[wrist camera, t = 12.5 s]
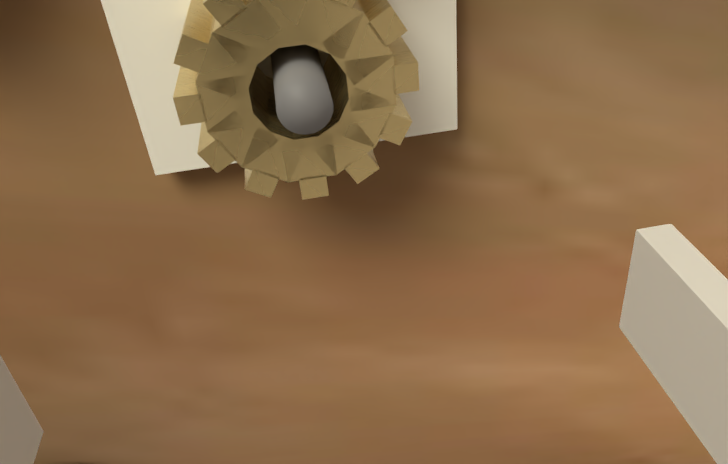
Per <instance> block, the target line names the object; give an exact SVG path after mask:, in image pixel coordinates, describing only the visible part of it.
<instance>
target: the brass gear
mask: <svg viewBox="0 0 728 464" xmlns="http://www.w3.org/2000/svg"><path fill="white" fill-rule="evenodd" d="M407 31H408V30H407V29H406V27H405V26H404V24H403V23H402V21H401V20H400V19H399V17H398V16H397V14H396V13H395V11H394V10H393V8H392V7H391V5H390V4H389V2H388V1H387V0H191V1H190V5H189V8H188V11H187V14H186V18H185V22H184V25H183V29H182V33H181V37H180V40H179V44H178V48H177V52H176V55H175V59H174V63H173V64H176V65H179V66H180V70H179V74H178V78H177V82H176V87H175V91H174V95H173V100H174V104H175V107H176V111H177V115H178V118H179V122H180V126H182V125H188V124H195V123H201V129H200V137H199V145H198V152H197V154H198V155H199V156H200V157H201V158H202V159H203V160H204V161H205V162H206V163H207V164H208V165H209V166H210V167H211V168H212V169H213V170H214V171H215V172H216V173H219V172H220V171H221V170H223V169H224V168H225V167H227V166H228V165H229V164H231V163H232V162H233V161H236V162H237V163H238V164H239V165H240V166H241V167H242V168H245V190H248V191H251V192H254V193H257V194H261V195H264V196H267V197H271V196H272V194H273V192H274V189H275V187H276V185H277V182H278V180H279V179H280V180H283V181H286V182H289V183H290V182H294V181H299V184H300V190H301V195H302V200H304V199H311V198H317V197H323V196H329V193H328V186H327V179H326V176H333V175H337V174H338V173H340V172H341V171H343V170H344V169H345V170H346V171H347V172H348V173H349V175H350V176H351V177H352V178H353V179H354V180H355V182H356V183H357V184H358V183H360V182H361V181H363V180H364V179H366V178H367V177H368V176H370V175H371V174H373V173H374V172H376V171H377V170H378V169H380V168H379V166H378V163H377V160H376V157H375V155H374V152H373V149H374V148H375V147H376V145H377V143H378V141H379V139H380V138H381V139H383V140H386V141H389V142H392V143H394V144H397V145H401V143H402V141H403V139H404V137H405V135H406V133H407V131H408V129H409V127H410V125H411V123H412V120H411V118H410V116H409V114H408V112H407V110H406V108H405V106H404V104H403V102H402V100H401V98H400V96H399V95H398V94H400V93H407V92H414V91H419V70H418V62H417V60H416V58H415V57H414V55H413V54H412V52H411V51H410V49H409V48H408V46H407V45H406V43H405V42H404V40H403V39H402V37H401V35H403V34H404V33H406V32H407ZM304 44H306V45H309V46H311V47H314V48H316V49H319V50H321V51H324V52H326V53H329V55H328V57H327V60H326V62H325V64H324V67H323V70H324V73H325V76H326V80H327V83H328V87H329V90H330V94H331V97H332V101H333V114H332V117H331V119H330V121H329V122H328V124H327V125H326V126H325V127H324V128H323V129H321V130H320V131H318V132H315V133H312V134H306V135H304V134H297V133H294V132H291V131H289V130H288V129H286V128H285V127H284V126H283V125H282V124H281V122H280V121H279V119H278V116H277V113H276V103H275V93H274V83H273V78H270V77H268V76H265V74H264V73H263V72H262V71H261V70H260V69H259V67H258V66H257V64H259V63H260V62H261V61H263V60H264V59H265V58H266V57H268V56H269V55H270V54H272V53H273V52H274V51H275V50H277V49H278V48H282V47H290V46H297V45H304Z"/></svg>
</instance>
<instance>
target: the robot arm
mask: <svg viewBox="0 0 728 464" xmlns="http://www.w3.org/2000/svg"><path fill="white" fill-rule="evenodd" d="M619 328H620V329H621V330H622V332H623V333H624V335H625V336H626V337H627V339H628V340H629V342H630V343H631V344H632V346H633V347H634V349H635V350H636V351H637V353H638V354H639V356H640V357H641V358H642V360H643V361H644V363H645V364H646V365H647V367H648V368H649V370H650V371H651V372H652V374H653V375H654V377H655V378H656V379H657V381H658V382H659V383H660V385H661V386H662V388H663V389H664V390H665V392H666V393H667V395H668V396H669V397H670V399H671V400H672V402H673V403H674V404H675V406H676V407H677V409H678V410H679V411H680V413H681V414H682V416H683V417H684V418H685V420H686V421H687V423H688V424H689V425H690V427H691V428H692V430H693V431H694V432H695V434H696V435H697V437H698V438H699V439H700V441H701V442H702V444H703V445H704V446H705V448H706V449H707V451H708V452H709V453H710V455H711V456H712V458H713V459H714V460H715V462H716V463H717V464H728V279H726V278H725V277H724V276H723V275H722V274H721V273H720V272H719V271H718V270H717V269H716V268H715V267H714V266H713V265H712V264H711V263H710V262H709V261H708V260H707V259H706V258H705V257H704V256H703V255H702V254H701V253H700V252H699V251H698V250H697V249H696V248H695V247H694V246H693V245H692V244H691V243H690V242H689V241H688V240H687V239H686V238H685V237H684V236H683V235H682V234H681V233H680V232H679V231H678V230H677V229H676V228H675V227H674V226H673V225H672V224H667V225H661V226H655V227H649V228H643V229H637V230H636V234H635V240H634V246H633V251H632V257H631V262H630V268H629V274H628V279H627V285H626V291H625V296H624V302H623V307H622V313H621V319H620V324H619ZM43 432H44V431H43V429H42V428H41V426H40V424H39V422H38V421H37V419H36V417H35V415H34V414H33V412H32V410H31V408H30V407H29V405H28V403H27V401H26V400H25V398H24V396H23V394H22V393H21V391H20V389H19V387H18V385H17V384H16V382H15V380H14V378H13V377H12V375H11V373H10V371H9V370H8V368H7V366H6V364H5V363H4V361H3V359H2V357H1V356H0V464H33V463H34V460H35V457H36V454H37V451H38V448H39V444H40V441H41V438H42V435H43Z"/></svg>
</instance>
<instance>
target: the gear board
mask: <svg viewBox="0 0 728 464" xmlns="http://www.w3.org/2000/svg"><path fill="white" fill-rule="evenodd" d="M190 1H191V0H101V3H102V6H103V9H104V12H105V15H106V19H107V22H108V25H109V28H110V31H111V35H112V38H113V41H114V44H115V47H116V50H117V54H118V57H119V60H120V63H121V66H122V70H123V73H124V76H125V79H126V82H127V86H128V89H129V92H130V95H131V98H132V102H133V105H134V108H135V111H136V114H137V118H138V121H139V124H140V127H141V130H142V134H143V137H144V140H145V143H146V146H147V149H148V153H149V156H150V159H151V162H152V165H153V169H154V172H155V175H160V174H167V173H173V172H180V171H187V170H193V169H200V168H206V167H210V166H209V165H208V164H207V163H206V162H205V161H204V160H203V159H202V158H201V157H200V156H199V155H198V154H197V152H198V145H199V137H200V129H201V123H195V124H188V125H182V126H180V122H179V118H178V115H177V111H176V107H175V104H174V100H173V95H174V91H175V87H176V82H177V78H178V74H179V70H180V66H179V65H176V64H173V63H174V59H175V55H176V52H177V48H178V44H179V40H180V37H181V33H182V29H183V25H184V22H185V18H186V14H187V11H188V8H189V5H190ZM387 1H388V2H389V4H390V5H391V7H392V8H393V10H394V11H395V13H396V14H397V16H398V17H399V19H400V20H401V21H402V23H403V24H404V26H405V27H406V29H407V30H408V31H407V32H406V33H404V34H403V35H401V37H402V39H403V40H404V42H405V43H406V45H407V46H408V48H409V49H410V51H411V52H412V54H413V55H414V57H415V58H416V60H417V62H418V70H419V91H414V92H407V93H400V94H398V95H399V96H400V98H401V100H402V102H403V104H404V106H405V108H406V110H407V112H408V114H409V116H410V118H411V120H412V123H411V125H410V127H409V129H408V131H407V133H406V135H405V137H410V136H417V135H424V134H430V133H437V132H443V131H450V130H457V31H456V0H387ZM328 55H329V53H326V52H324V51H321V50H319V49H316V48H314V47H311V46H309V45H306V44H304V45H297V46H290V47H282V48H278V49H277V50H275V51H274V52H273V53H272V54H270V55H269V56H268V57H266V58H265V59H264V60H263V61H261V62H260V63H259V64H257V66H258V67H259V69H260V70H261V71H262V72H263V73H264V74H265V76H268V77H270V78H273V83H274V93H275V103H276V113H277V116H278V119H279V121H280V122H281V124H282V125H283V126H284V127H285V128H286V129H288V130H289V131H291V132H294V133H297V134H304V135H306V134H312V133H315V132H318V131H320V130H321V129H323V128H324V127H325V126H326V125H327V124H328V122H329V121H330V119H331V117H332V114H333V101H332V97H331V94H330V90H329V87H328V83H327V80H326V76H325V73H324V70H323V67H324V64H325V62H326V60H327V57H328ZM379 141H384V140H383V139H381V138H380V139H379ZM233 163H237V162H236V161H233V162H232V163H231V164H233Z"/></svg>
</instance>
